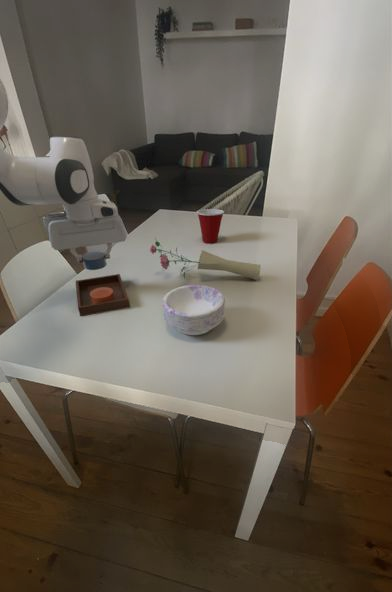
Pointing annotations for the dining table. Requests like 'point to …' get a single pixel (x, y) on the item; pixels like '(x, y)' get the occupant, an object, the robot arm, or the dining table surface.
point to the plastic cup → (210, 224)
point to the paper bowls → (193, 309)
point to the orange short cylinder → (102, 295)
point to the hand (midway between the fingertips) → (94, 260)
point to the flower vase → (213, 263)
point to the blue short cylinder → (94, 260)
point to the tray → (93, 283)
